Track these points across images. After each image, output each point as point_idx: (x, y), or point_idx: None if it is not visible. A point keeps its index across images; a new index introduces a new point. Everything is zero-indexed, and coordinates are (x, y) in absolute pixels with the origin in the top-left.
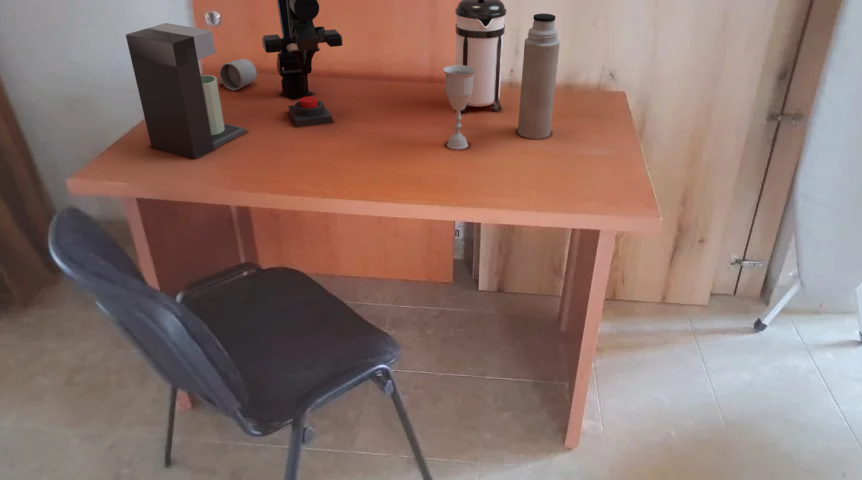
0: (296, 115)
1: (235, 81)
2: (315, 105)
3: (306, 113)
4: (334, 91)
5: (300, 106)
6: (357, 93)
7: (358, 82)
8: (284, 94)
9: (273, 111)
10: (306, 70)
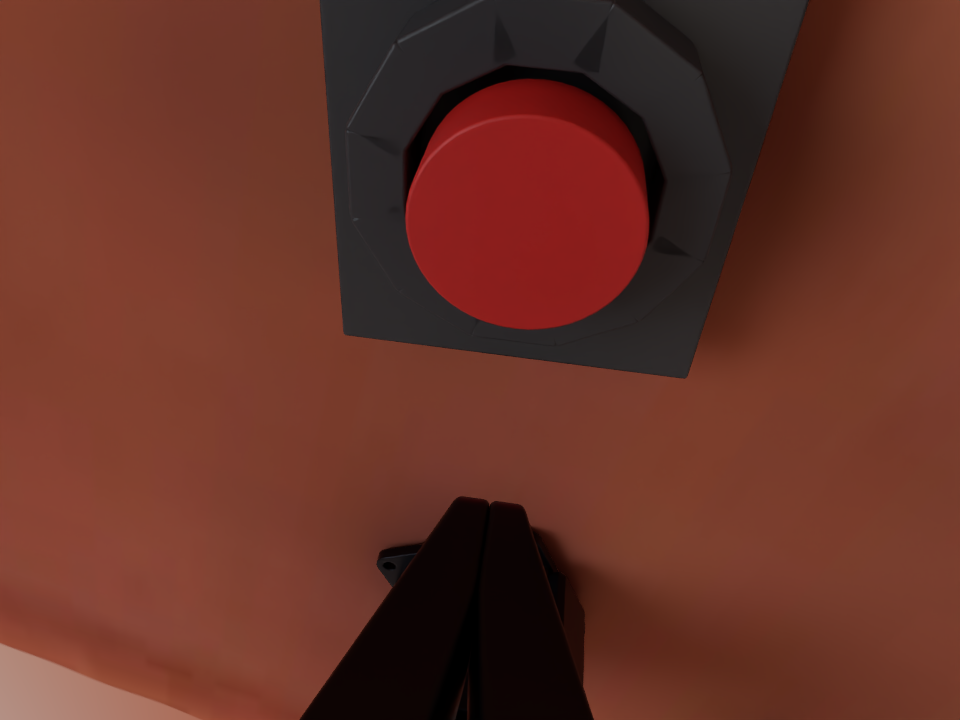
0: (746, 83)
1: None
2: (468, 104)
3: (639, 4)
4: (219, 532)
5: None
6: (50, 446)
7: (54, 579)
8: (578, 600)
9: (790, 413)
10: (459, 585)
